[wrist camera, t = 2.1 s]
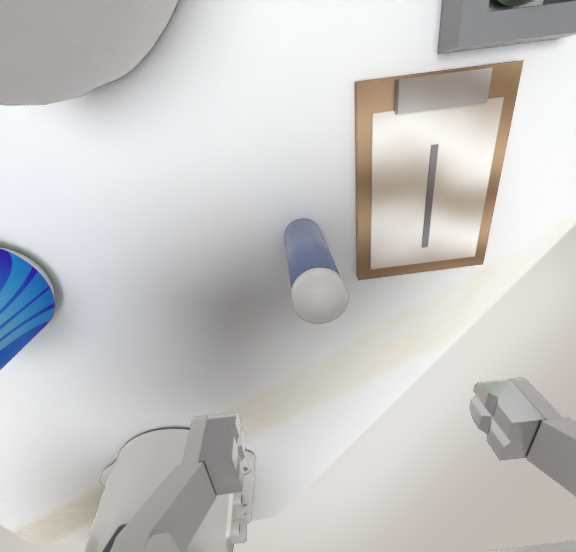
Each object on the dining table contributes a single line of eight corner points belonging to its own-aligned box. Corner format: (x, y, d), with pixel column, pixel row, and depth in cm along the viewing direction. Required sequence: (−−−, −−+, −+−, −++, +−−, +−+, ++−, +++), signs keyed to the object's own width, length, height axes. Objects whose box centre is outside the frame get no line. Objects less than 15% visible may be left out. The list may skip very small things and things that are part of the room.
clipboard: (478, 261, 28) (488, 268, 27) (357, 276, 28) (361, 284, 27) (517, 61, 21) (532, 58, 20) (354, 82, 21) (360, 80, 20)
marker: (322, 250, 27) (349, 320, 18) (286, 255, 27) (295, 326, 18) (319, 215, 26) (347, 272, 17) (281, 220, 26) (289, 279, 17)
